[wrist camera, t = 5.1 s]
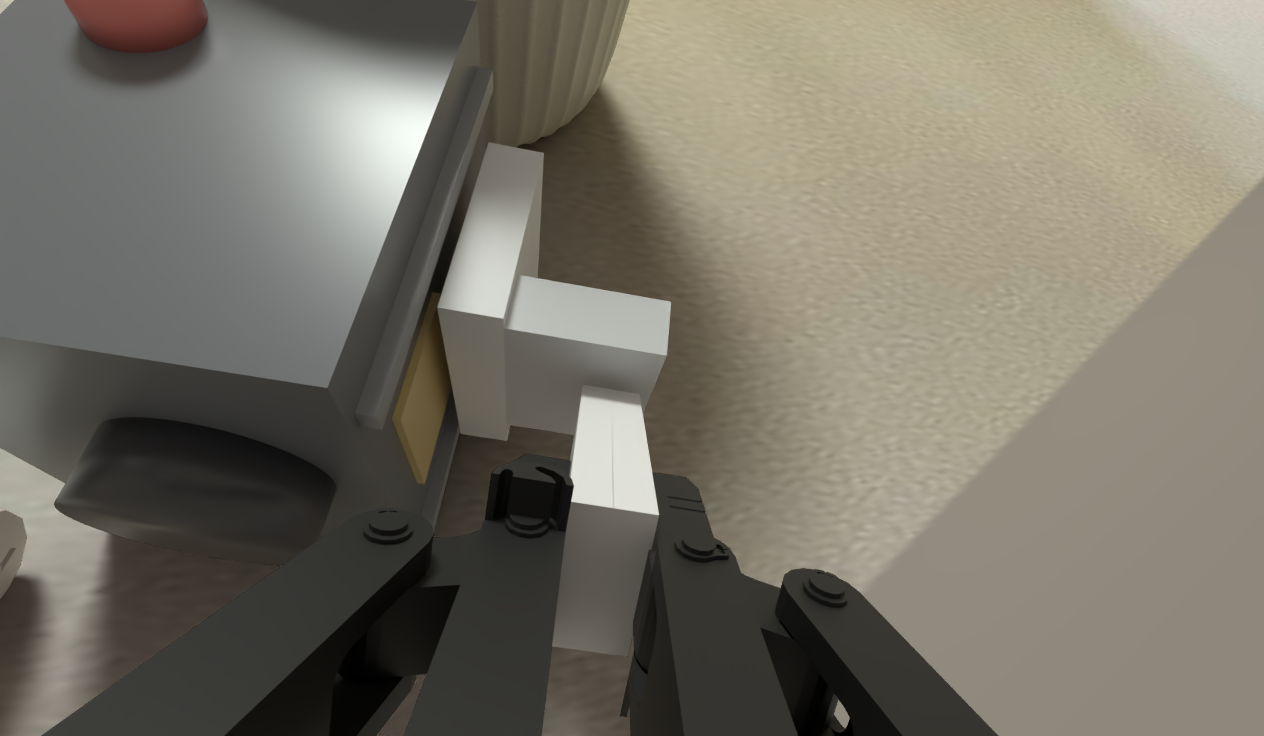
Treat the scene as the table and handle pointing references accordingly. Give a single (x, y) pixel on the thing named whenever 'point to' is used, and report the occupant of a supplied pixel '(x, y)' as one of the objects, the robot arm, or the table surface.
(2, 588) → the spotlight
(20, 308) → the camera case
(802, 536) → the table surface
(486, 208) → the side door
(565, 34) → the canister
